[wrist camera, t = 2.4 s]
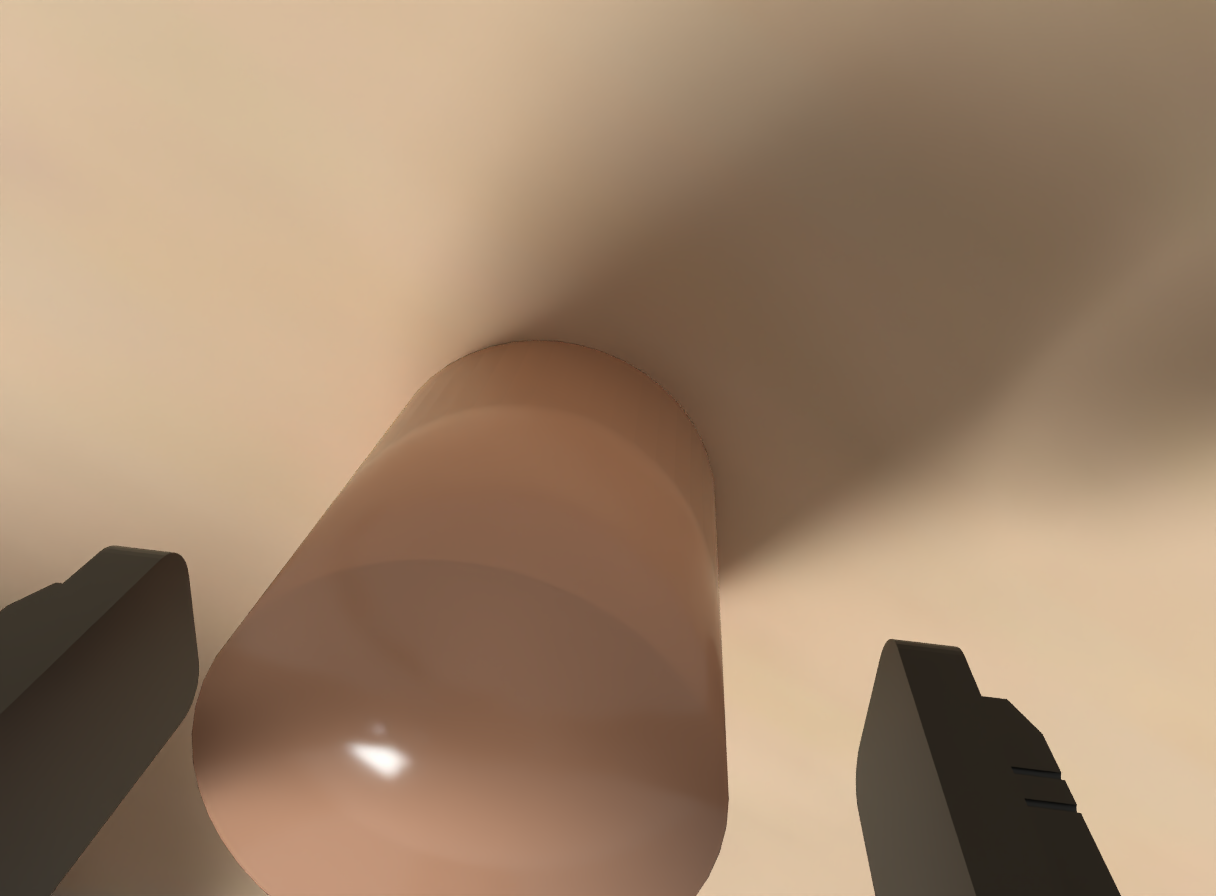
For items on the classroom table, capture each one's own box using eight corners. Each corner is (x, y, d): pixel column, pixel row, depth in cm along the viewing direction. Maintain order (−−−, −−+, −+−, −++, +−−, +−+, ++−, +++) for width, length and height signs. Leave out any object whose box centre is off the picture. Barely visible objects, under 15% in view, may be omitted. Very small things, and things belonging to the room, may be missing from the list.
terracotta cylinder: (379, 323, 13) (162, 528, 8) (736, 358, 13) (766, 595, 8) (385, 621, 15) (217, 947, 10) (694, 656, 15) (694, 1010, 10)
